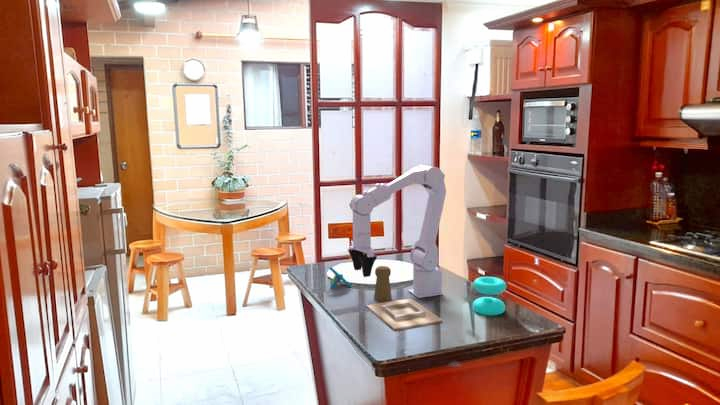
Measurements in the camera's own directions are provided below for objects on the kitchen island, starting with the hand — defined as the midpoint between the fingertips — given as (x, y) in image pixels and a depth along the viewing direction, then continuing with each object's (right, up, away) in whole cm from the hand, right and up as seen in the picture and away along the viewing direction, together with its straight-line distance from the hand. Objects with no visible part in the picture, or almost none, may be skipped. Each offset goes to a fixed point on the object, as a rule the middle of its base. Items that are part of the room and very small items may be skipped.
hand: (362, 273), depth 170 cm
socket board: (+13, -12, -8) cm, 19 cm away
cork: (+7, -9, +5) cm, 13 cm away
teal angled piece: (-8, -8, +17) cm, 20 cm away
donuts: (+40, -11, -6) cm, 42 cm away
